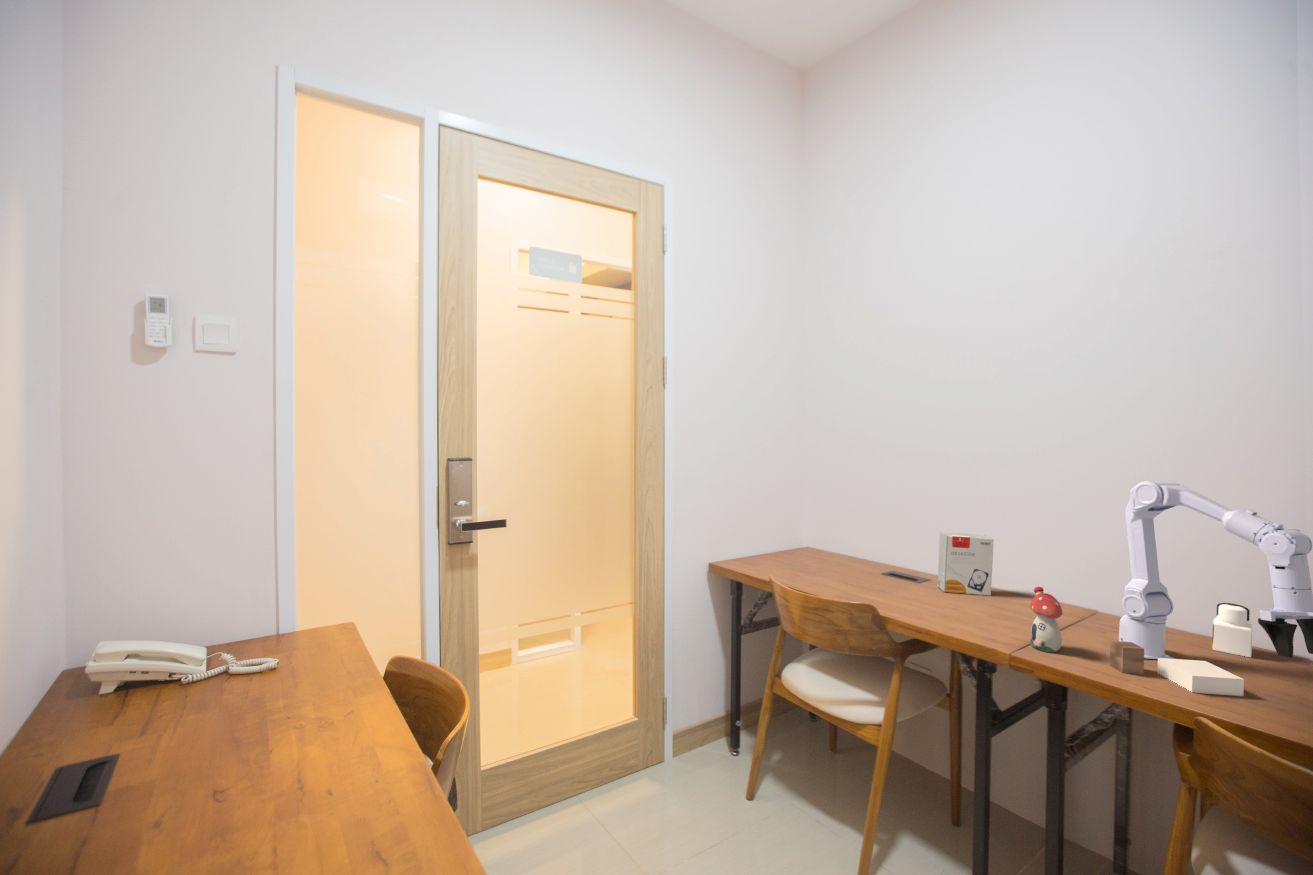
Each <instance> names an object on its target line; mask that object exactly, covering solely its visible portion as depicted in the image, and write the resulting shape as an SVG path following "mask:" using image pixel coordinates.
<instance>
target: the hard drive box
mask: <svg viewBox="0 0 1313 875" xmlns="http://www.w3.org/2000/svg"><path fill="white" fill-rule="evenodd" d="M938 547H939V549H938V570H937V571H938V572H937V587H938V588H939V589H940V591H942V592H943V593H953V594H969V595H978V596H990V597H991V596H992V578H993V556H994V538H993V537H991V536H988V535H986V534H975V533H960V532H943V531H942V532H939V546H938Z"/></svg>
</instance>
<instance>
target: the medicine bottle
mask: <svg viewBox="0 0 1313 875" xmlns="http://www.w3.org/2000/svg"><path fill="white" fill-rule="evenodd" d="M1252 642H1253V625H1252V624H1251V623H1250V609H1249V608H1248V607H1247V606H1244V605H1240V604H1237V603H1231V602H1220V603H1218V604H1216V617H1214V618H1213V622H1212V642H1211V643H1212V644H1211V648H1212V651H1216V652H1221V653H1225V654H1230V655H1231V654H1232V655H1236V656H1239V655H1240V657H1244V656H1245V658H1249V657H1250V658H1252V650H1253V647H1252V646H1253V643H1252Z"/></svg>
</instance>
